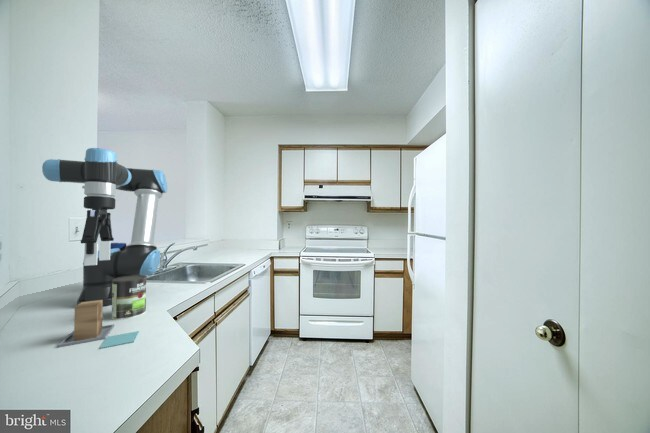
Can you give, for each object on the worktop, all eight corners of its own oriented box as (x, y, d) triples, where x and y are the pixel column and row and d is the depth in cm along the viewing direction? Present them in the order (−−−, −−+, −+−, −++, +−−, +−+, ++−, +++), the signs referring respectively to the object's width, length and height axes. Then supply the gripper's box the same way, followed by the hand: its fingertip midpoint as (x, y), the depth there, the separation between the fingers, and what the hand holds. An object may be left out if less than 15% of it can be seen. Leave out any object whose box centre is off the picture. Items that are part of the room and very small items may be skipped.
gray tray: (73, 334, 76) (73, 330, 76) (114, 327, 81) (114, 324, 81) (57, 348, 67) (57, 344, 67) (104, 340, 72) (104, 336, 72)
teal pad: (107, 338, 73) (107, 336, 73) (138, 332, 77) (138, 331, 77) (99, 350, 66) (99, 347, 67) (133, 343, 70) (133, 341, 70)
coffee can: (152, 311, 96) (153, 275, 96) (126, 321, 85) (127, 281, 86) (131, 309, 98) (132, 274, 98) (103, 319, 87) (104, 280, 88)
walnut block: (80, 334, 75) (81, 302, 75) (102, 330, 78) (102, 299, 78) (74, 341, 71) (74, 307, 71) (96, 337, 73) (97, 304, 73)
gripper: (97, 200, 87) (95, 259, 86) (67, 190, 66) (64, 269, 65) (123, 201, 91) (122, 257, 90) (103, 192, 69) (101, 266, 68)
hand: (98, 262), depth 77 cm, fingers open, 13 cm apart
